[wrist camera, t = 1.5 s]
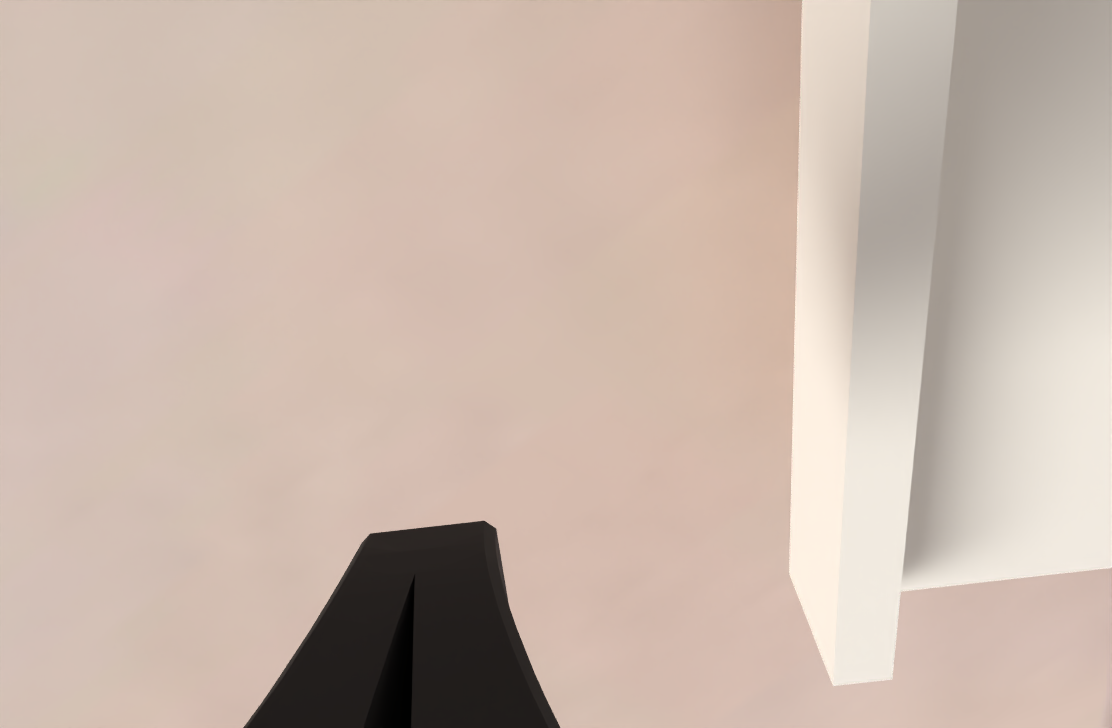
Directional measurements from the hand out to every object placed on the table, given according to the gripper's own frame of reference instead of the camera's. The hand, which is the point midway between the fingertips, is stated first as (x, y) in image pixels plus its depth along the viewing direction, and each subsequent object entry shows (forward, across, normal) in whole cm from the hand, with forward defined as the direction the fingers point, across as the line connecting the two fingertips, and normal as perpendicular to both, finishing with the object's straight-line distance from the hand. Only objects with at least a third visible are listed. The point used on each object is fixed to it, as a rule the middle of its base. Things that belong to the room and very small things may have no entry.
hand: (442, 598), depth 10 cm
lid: (+6, -11, 0) cm, 13 cm away
